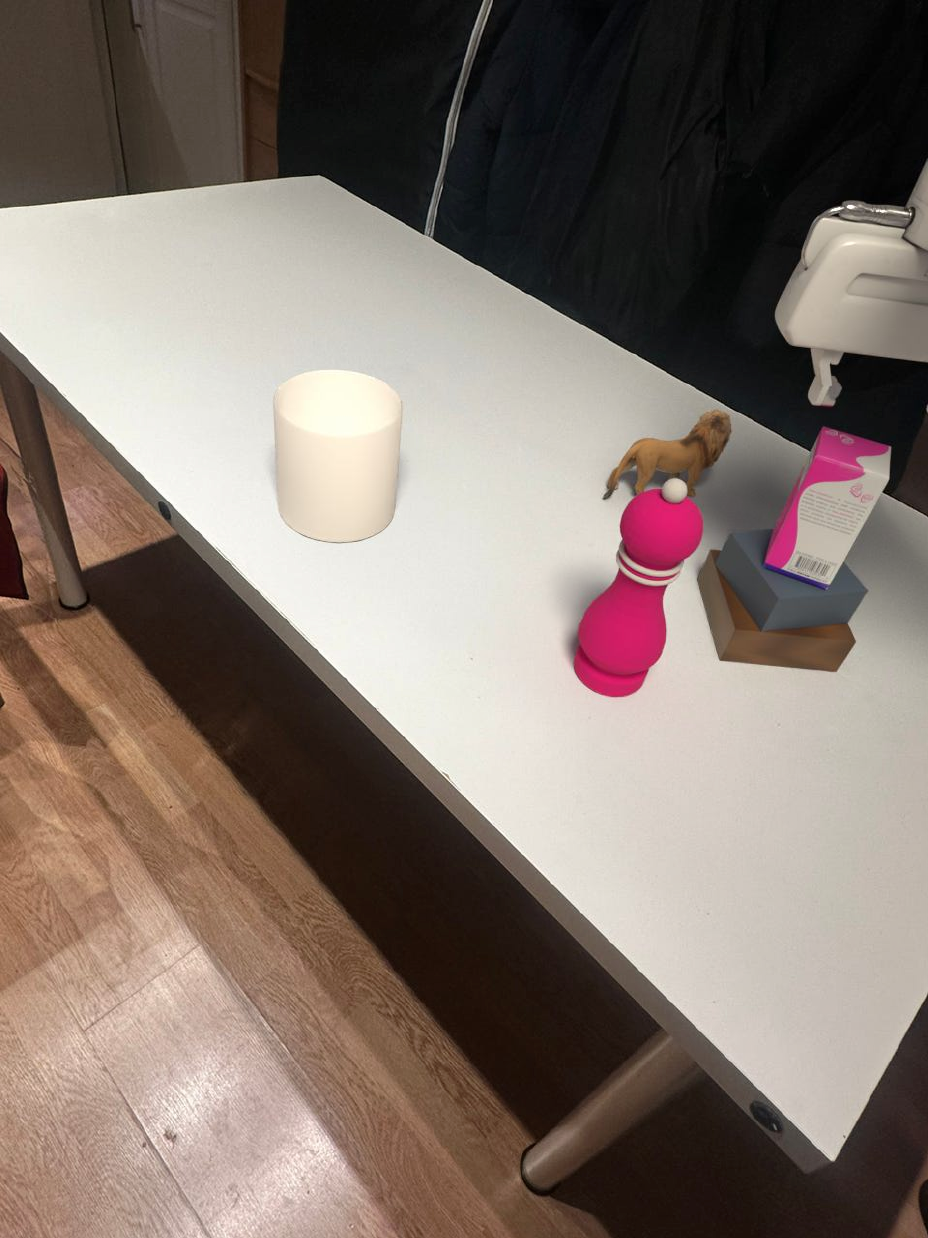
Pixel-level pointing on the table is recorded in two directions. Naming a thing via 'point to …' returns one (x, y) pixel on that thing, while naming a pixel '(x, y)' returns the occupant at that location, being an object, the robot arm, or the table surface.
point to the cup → (337, 454)
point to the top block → (784, 587)
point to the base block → (775, 648)
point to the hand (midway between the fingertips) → (879, 409)
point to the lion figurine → (677, 453)
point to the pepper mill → (638, 591)
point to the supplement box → (828, 507)
